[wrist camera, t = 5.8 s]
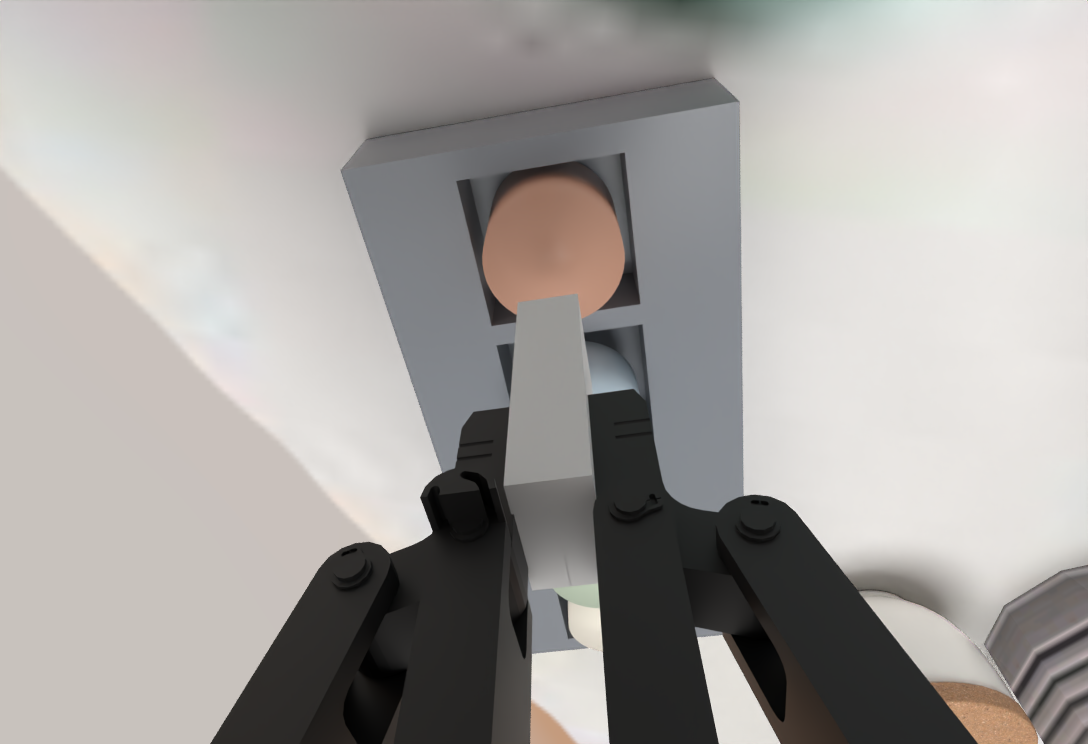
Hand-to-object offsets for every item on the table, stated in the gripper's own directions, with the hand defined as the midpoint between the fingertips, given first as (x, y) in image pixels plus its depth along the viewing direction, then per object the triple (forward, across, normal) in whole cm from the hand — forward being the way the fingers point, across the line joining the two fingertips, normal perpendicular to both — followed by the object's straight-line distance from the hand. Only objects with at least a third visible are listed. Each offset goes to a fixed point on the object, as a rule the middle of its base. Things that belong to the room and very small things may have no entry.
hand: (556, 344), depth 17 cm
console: (+9, 0, -9) cm, 13 cm away
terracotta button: (+8, 0, 0) cm, 8 cm away
